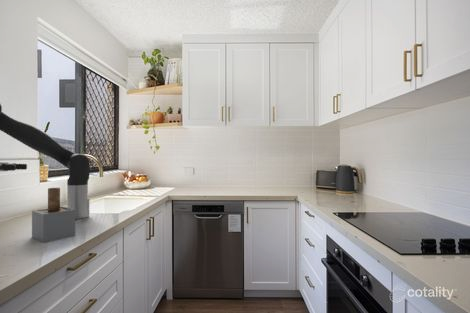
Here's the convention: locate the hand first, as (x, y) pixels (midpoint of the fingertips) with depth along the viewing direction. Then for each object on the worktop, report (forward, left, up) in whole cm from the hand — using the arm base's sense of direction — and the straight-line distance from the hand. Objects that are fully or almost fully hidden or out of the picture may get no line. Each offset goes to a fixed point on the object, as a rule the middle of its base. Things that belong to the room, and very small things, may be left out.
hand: (21, 167), depth 101 cm
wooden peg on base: (-9, +7, -19) cm, 22 cm away
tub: (-9, +7, -28) cm, 30 cm away
